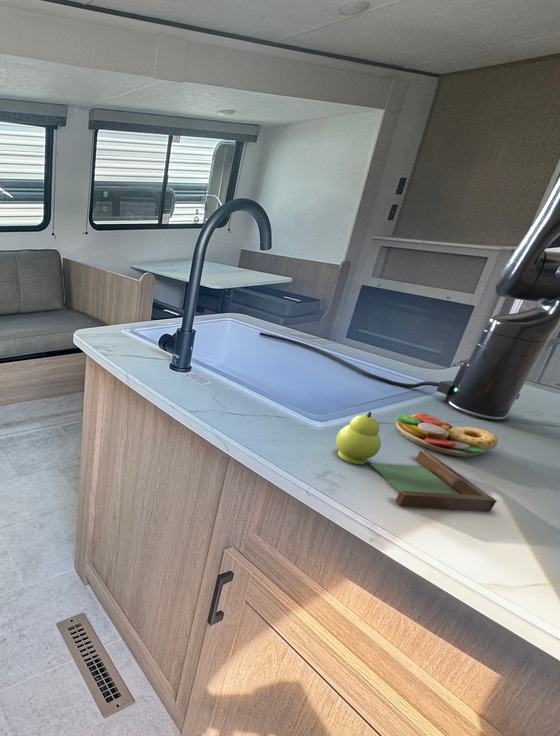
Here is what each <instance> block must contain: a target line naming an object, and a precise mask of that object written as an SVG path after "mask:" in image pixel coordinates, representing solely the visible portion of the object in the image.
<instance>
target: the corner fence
mask: <svg viewBox="0 0 560 736" xmlns="http://www.w3.org/2000/svg"><path fill="white" fill-rule="evenodd" d="M415 461H417V462H418V463H420V464H421V465H422V466H413V465H397V464H383V463H382V464H380V463H369V466H370V467H371V468H372V469H374V470H375V472H377V473H378V474H379V475H380V476H382V478H384V480H386V481H387V482H388V483H389V484H390V485H392V486H393V487H394V488H395V489H396V490H397V491H398V492H399V493H398V494H397V497H396V499H395V503H396V504H397V505H398V506H399V507H411V508H412V507H413V508H428V509H441V510H442V509H443V510H456V511H457V510H459V511H473V512H474V511H476V512H491V511H492V509H493V508H494V506H495V505H496V503H497V502H498V500H497V499H495V498H494V497H493V496H491V495H489V494H488V493H486V491H485V490H482V489H481V488H480V487H478V486H477V485H476V484H474V483H473V482H472V481H470V480H469V479H467V478H466V477H465V476H463V475H462V474H460V473H459V472H457V471H456V470H454V469H453V468H452V467H450V466H449V465H447V464H446V463H444V462H443V461H442V460H440V459H439V458H437V457H436V456H435V455H433V454H432V453H431V452H429V451H428V450H427V449H426V450H425V449H419V452H418V454H417V455H416V458H415Z"/></svg>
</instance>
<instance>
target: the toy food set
mask: <svg viewBox="0 0 560 736" xmlns="http://www.w3.org/2000/svg"><path fill="white" fill-rule="evenodd" d="M395 422H396V427H397V428H398V430H399V432H400V433H401V434H402V435H403V436H404V437H405V438H406V439H408V440H409V441H411V442H413V443H415V444H416V445H419V446H421V447H423V448H426V449H429V450H431V451H435V452H438V453H441V454H445V455H449V456H455V457H473V456H474V457H475V456H477V455H481V454H484V453H485V452H486V450H491V449H495V448H496V447H497V445H498V442H499V439H498V437H497V436H496V435H495V434H494V433H492V432H490V431H487V430H484V429H481V428H478V427H470V426H458V427H455V426H452V425H451V424H450V423H448V422H445V421H441V420H440V419H438V418H436V417H434V416H431V415H430V414H427V413H416V414H412V415H408V414H398V415H397V417H396V420H395Z"/></svg>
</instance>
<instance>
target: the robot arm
mask: <svg viewBox="0 0 560 736" xmlns="http://www.w3.org/2000/svg"><path fill="white" fill-rule="evenodd" d="M559 236H560V176H558V178H557V180H556V183H555V184H554V186H553V188H552V189H551V192H550V194H549V196H548V197H547V199H546V201H545V203H544V205H542V208H541V209H540V211H539V213H538V215H537V217H536V218H535V219H534V221H533V223H532V224H531V225H530V227H529V228H528V230H527V232H525V234H524V236H523V237H522V239H521V241H520V242H519V244H518V245H517V247H516V248H515V249H514V251H513V252H512V254H511V255H510V257H509V258H508V260H507V262H506V263H505V264H504V267H503V268H502V270H501V272H500V273H499V276H498V277H497V280H496V283H495V293H496V295H498V296H499V297H502V298H506V299H513V300H519V301H527V302H535V303H539V304H538V305H537V306H535V307H533V308H530V309H527V310H524V311H520V312H515V313H505V314H497V315H494V316H491V318H489V319H488V321H487V322H486V325H485V327H484V329H483V330H482V333H481V335H480V337H479V339H478V342H477V343H476V346H475V348H474V350H473V352H472V354H471V356H470V358H469V360H468V361H463V362H462V363H461V364H460V366H459V369H458V370H457V373H456V374H455V376H454V379H453V380H444V381H439V382H438V381H431V380H430V381H427V380H426V381H420V382H416V383H405V382H400V381H396V380H395V381H394V380H391V379H387V378H385V377H383V376H379V375H377V374H373V373H370V372H367V371H365V370H364V369H361V368H359V367H358V366H356V365H354V364H352V363H349V362H348V361H346V360H344V359H341V358H340V357H338V356H335V355H334V354H331V353H329V352H327V351H325V350H323V349H320V348H318V347H315V346H313V345H310V344H307V343H304V342H300V341H298V340H294V339H290V338H286V337H284V336H279V335H275V334H270V333H265V332H259V336H262V337H267V338H271V339H275V340H279V341H283V342H287V343H290V344H294V345H296V346H300V347H303V348H306V349H309V350H312V351H314V352H316V353H319V354H321V355H323V356H325V357H327V358H330V359H332V360H334V361H336V362H337V363H339V364H341V365H344V366H345V367H348V368H349V369H351V370H353V371H355V372H357V373H358V374H361V375H363V376H365V377H367V378H371V379H374V380H376V381H379V382H382V383H386V384H388V385H392V386H397V387H400V388H406V389H407V388H409V389H416V388H419V387H424V386H430V387H431V386H432V387H436V390H435V391H436V392H438V393H441V394H443V395H445V398H444V399H443V402H444V403H446V404H447V405H448V406H450V407H451V408H453V409H454V410H457V411H458V412H460V413H463V414H466V415H469V416H472V417H476V418H480V419H483V420H489V421H504V420H506V418H507V417H508V414H509V413H510V411H511V408H512V407H513V405H514V403H515V402H516V400H517V401H518V400H519V397H520V396H521V394H520V393H521V391H522V389H523V388H524V385H525V384H526V382H527V380H528V379H529V376H530V375H531V374H532V371H533V370H534V368H535V366H536V365H537V363H538V361H539V359H540V357H541V355H542V353H543V351H544V350H545V348H546V346H547V345H548V344H549V341H550V339H551V338H552V337H553V334H554V332H555V331H556V330H557V328H558V327H559V325H560V251H552V250H551V251H550V250H546V249H547V248H548V247H549V246H550V245H551V244H552V242H554V241H555V240H556V239H557V238H558V237H559Z"/></svg>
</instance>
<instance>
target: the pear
mask: <svg viewBox="0 0 560 736" xmlns="http://www.w3.org/2000/svg"><path fill="white" fill-rule="evenodd" d="M379 432H380V423H379V421H378V420H377V419H376V418H374V417H373V416H372V411H367V414H359V415H356V416H355V417H353V418H351V420H350V421H349V424H348V425H345V426H344V427H342V428H341V429H340V430H339V431H338V433H337V435H336V440H335V441H336V446H337V448H338V449H339V450H338V452H337V455H338V457H339V458H341V459H342V460H343V461H345V462H347V463H350V464H354V465H364V464H366V462H367V460H368V459H371V458H373V457H375V456H376V455H377V454H378V452H379V451H380V449H381V447H382V446H381V445H382V441H381V437H380V435H379Z"/></svg>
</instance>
